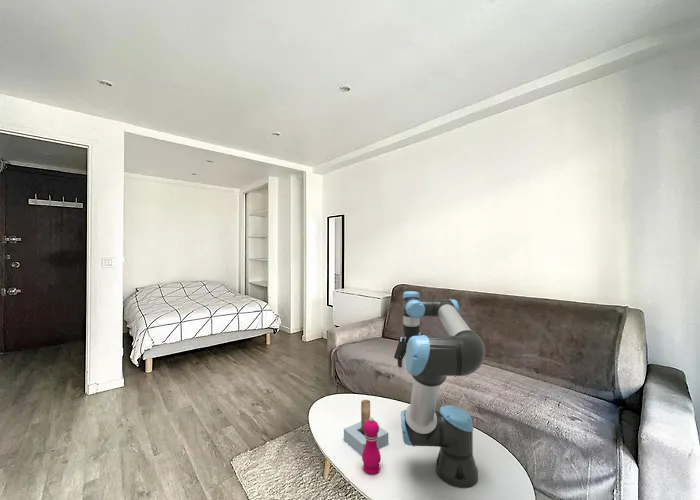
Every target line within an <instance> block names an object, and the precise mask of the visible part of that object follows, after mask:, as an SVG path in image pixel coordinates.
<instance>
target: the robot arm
mask: <svg viewBox="0 0 700 500" xmlns="http://www.w3.org/2000/svg"><path fill="white" fill-rule="evenodd" d="M402 308H403V310H402V313H403V314H402V317H403V318H402V324H403V325H402V327H403V328H402V330H403V332H402V333H403V334H404V336H403V337H402V336H398V337H399V338H398V344H397V346H396V349H395V353H394V356H393V359H395V360H397V368H398V374H399V375H402V376H403V375H405V368H406V371H407V373H408V375H411V377H412V378H413V379H412V387H411V398H410V404H409V405H408V407H407V408H406V409H404V410H401V412H400V422H401V430H402V438H403V439H402V440H403V443H404V445H406V446H412V447H439V452H438V453H437V454H438V455H437V457H436V461H435V472H436V474H437V476H438V477H439V478H440V479H441V480H442V481H443V482H445V483H446V484H448V485H450V486H452V487H457V488H469V487H473V486H475V484H477V482H478V480H479V471H478V467H477V464H476V461H475V458H474V452H473V451H474V450H473V449H474V448H473V444H474V443H473V440H474V439H473V434H474V433H473V431H474V426H473V420H472V416H471V415H470V414H469V413H468V412H467V411H466V410H465V409H462V408H461V407H458V406H456V405H455V406H454V405H450V404H449V405H448V404H447V405H442V406H441V407H440V408H439V411H436V406H437V401H438V396H439V391H440V386H441V385H443V384H444V382H445V381H446V379H447V377H449V376H450V377H465V376H469V375H471V374H473V373H476V371H478V370H479V368H481V366H482V364H483V363H484V360H485V357H486V356H485V355H486V346H485V343H484V341H483V340H482V338H481V337H480V336H479V334H478V333H477V332H475V331H473V330H471V328H470V327H469V326H468V324H467V323H466V321H465V320H464V319H463V318H462V316H461V315H460V306H459V302H458V300H457V299H451V298H447V299H444V298H443V299H441V298H440V299H438V298H437V299H436V298H433V299H432V298H431V299H430V298H429V299H427V298H426V299H425V298H422V299H421V298H420V293H419V292H418V291H403V294H402ZM421 318H439V320H440V322H441V324H442V326H444V328H445V331H446V333H447V335H425V334H424V333H423V332H420V330H421V328H420V327H421V326H420V325H421V324H420V319H421ZM404 357H405V360H404Z"/></svg>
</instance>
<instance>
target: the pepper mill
mask: <svg viewBox="0 0 700 500" xmlns="http://www.w3.org/2000/svg"><path fill="white" fill-rule="evenodd" d="M379 427H380V426H379V424H378V422H377V421H376V420H374V417H372V416H370V418H369V420H368V421H366V422H365V424H364V432H365V439H366V446H365V448H364V451H363V454H362V455H361V459H362V462H363V468H362V469H363V471H364V473H366V474H367V475H371V476H372V475H373V476H374V475H377V474H378V473H379V472H380V467H381V465H380V463H381V460H382V457H381V452H380V450H379V449H378V448H377V439H378V434H377V433H378V431H379Z"/></svg>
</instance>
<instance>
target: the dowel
mask: <svg viewBox="0 0 700 500" xmlns="http://www.w3.org/2000/svg"><path fill="white" fill-rule="evenodd" d="M360 409H361V411H360V412H361V413H360V417H361V419H360V420H361V421H360V422H361V434H363V435H364V436H365V432H364V424H365V422H366V421H368V420H369V418H370V417H371V401H370V400H369V399H362V400H361V405H360Z"/></svg>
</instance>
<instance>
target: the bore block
mask: <svg viewBox="0 0 700 500" xmlns="http://www.w3.org/2000/svg"><path fill="white" fill-rule="evenodd" d="M377 434H378V439H377V448H378V450H379V449H382V448H384V447H386V446H389V432H388V431H386V430H385V429H384V428H383V427H381V426H379V431H378V433H377ZM343 441H344V442H345V443H346V444H348V445H349V446H350V447H351V448H352V449H354V450H355V452H356V453H358V454H359V455H360V456H362V454H363V451H364V448H365V446H366V439H365V436H364V435H363V434H361V421H359V422H356V423H355V424H352V425H349V426H348V427H344V428H343Z"/></svg>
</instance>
